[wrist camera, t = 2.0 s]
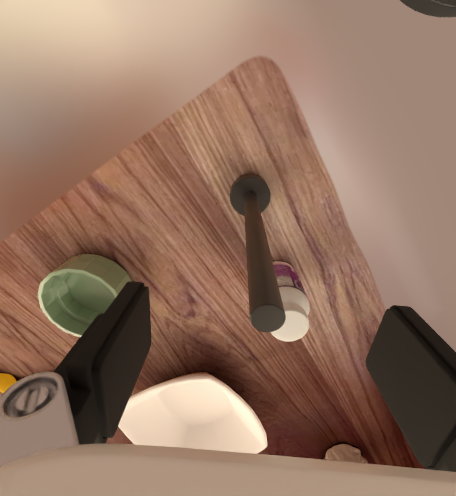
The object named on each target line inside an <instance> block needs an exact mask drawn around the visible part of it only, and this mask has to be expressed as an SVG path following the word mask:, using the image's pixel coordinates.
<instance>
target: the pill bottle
mask: <svg viewBox="0 0 456 496" xmlns="http://www.w3.org/2000/svg"><path fill="white" fill-rule="evenodd" d="M273 266H274V270H275V274H276V278H277V282H278V286H279V290H280V294H281V299H282V303H283V307H284V311H285V315H286V320H285V323H284V324H283V326H282V327H281V328H280V329H278V330H276V331H273V332H271V333H272V335H273V336H274V337H275V338H277V339H279V340H282V341H295V340H298V339H300V338H302V337H303V336H304V335H305V334H306V333H307V331H308V329H309V320H308V317H307V316H308V314H309V302H308V299H307V296H306V294H305V291H304V289H303V286H302V284H301V281H300V279H299V277H298V274H297V272H296V270H295V269H294V267H292V266H291V265H290V264H288V263H285V262H281V261H275V262H273Z"/></svg>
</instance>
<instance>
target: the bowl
mask: <svg viewBox="0 0 456 496" xmlns="http://www.w3.org/2000/svg"><path fill="white" fill-rule="evenodd" d="M118 427H119V428H120V429H121V430H122V431H123V433H124V434H125V435H126V436H127V437H128V438H129V439H130V440H131V441H132V442H133V443H134V444H135V445H150V446H165V447H181V448H193V449H205V450H217V451H229V452H241V453H253V454H257V453H259V452H260V451H262V450H263V449H265V448H266V447H267V437H266V432H265V430H264V428H263V426H262V424H261V422H260V420H259V419H258V417H257V416H256V414H255V412H254V411H253V409H252V408H251V407H250V406H249V405H248V404H247V403H246V402H245V401H244V400H243V399H242V398H241V397H240V396H239V395H238V394H237V393H236V392H234V391H233V390H232V389H231V388H230V387H229V386H228V385H226V384H225V383H223V382H222V381H220V380H219V379H217V378H215V377H214V376H212V375H211V374H209V373H206V372H197V373H192V374H187V375H183V376H180V377H176V378H174V379H171V380H168V381H165V382H162V383H160V384H157V385H154V386H152V387H149V388H147V389H145V390H143V391H141V392H139V393H137V394H135V395H133V396H131V397H130V398H129V400H128V403H127V405H126V408H125V410H124V413H123V415H122V418H121V420H120V422H119V425H118Z"/></svg>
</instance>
